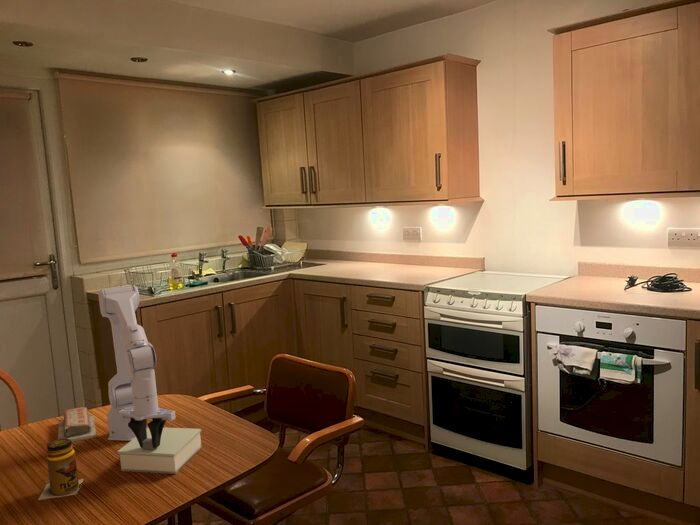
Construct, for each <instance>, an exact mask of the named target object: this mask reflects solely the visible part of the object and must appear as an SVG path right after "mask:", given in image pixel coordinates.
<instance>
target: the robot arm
mask: <svg viewBox="0 0 700 525" xmlns="http://www.w3.org/2000/svg"><path fill="white" fill-rule="evenodd" d="M98 303H99V310H100V314H101V317H103V318H107V319H108V320H109V323H110V326H111V333H112V339H113V340H112V341H113V348H114V357H115V358H114V359H115V364H116V372H117V373H116V374H114V376H113V377H112V378H111V379H110V380H109V381H108V383H107V386H108V387H107V388H108V391H107V392H108V400H109V403H110V404H109V405H110V408H109V410H108V413H107V427H108V435H109V437H108V438H107V440H109V441H124V442H125V441H127V442H128V441H129V442H130V441H131V440H133V439H134V438H135V437H136V438H137V440H138V442H139V445H140V447H141V448H143V445H142V441H144V440H145V439H146V438H147V431H146V429H147V428H149V430H150V433H151V437H152V445H153V448H157V447H158V446H159V445H160V440H161V434H162V430H163V427H165V425H166V422H167V421H168V422H173V421H174V420H175V419H176V410H169V409H166V408H162V407H159V403H158V402H159V401H158V391H157V382H156V374H155V368H156V367H157V355H156V351H155V348H154V346H153V344H151V342H149V341H148V338H147V335H146V333H145V332H146V331H145V328H144V327H143V326H142V325H139V324H138V321H137V317H136V311H137V309H138V308H139V305H140V293H139V288H138V287H137V286H136V285H135V284H131V285H127V286H118V287H112V288H101V289H99V291H98ZM148 420H151V421H150V422H148ZM147 422H148V423H147Z"/></svg>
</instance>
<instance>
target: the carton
mask: <svg viewBox="0 0 700 525" xmlns="http://www.w3.org/2000/svg"><path fill="white" fill-rule="evenodd" d="M201 449H202V440H201V432H200V433H199V434H198V435H197V436H196V437H195V438H193V439H192V440H191V441H190V442H189V443H188V444H187V445H186V446H185V447H184V448H183V449H182V450H181V451H180V452H179V453H178V454H176V455H175V456H156V455H136V454H119V460H120V468H121V471H122V472H130V471H131V472H132V473H133V472H134V473H135V472H136V473H148V472H150V473H149V474H152V473H153V474H165V475H166V474H168V475H169V474H170V475H177V473H178V472H180V470H182V469H183V468H184V467H185V466H186V464H188V462H189V461H191V459H192V458H193V457H195V456H196V454H197V453H198V452H200V450H201Z"/></svg>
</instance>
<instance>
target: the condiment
mask: <svg viewBox="0 0 700 525" xmlns="http://www.w3.org/2000/svg"><path fill="white" fill-rule="evenodd" d="M73 447H74V446H73V442H72V441H71V440H70V439H68V438H61V439H58V438H56V439H54V440H52V441H50V442H49V443H48V444H47V445H46V449H47V452H46V453H47V456H46V464H47V470H48V472H47V473H48V478H49V483H46V485H45V487H44V489H43V491H42V492H41V494H40V496H39V497H38V499H37V501H41V500H47V499H48V500H49V499H53V498H56V499H57V498H62V497H68V496H75V495H78V492H79V491H80V489H81V486H82V484H83V481H84V478H81V479H79V474H78V467H77V460H76V459H77V458H76V451H75V449H74V448H73ZM81 483H82V484H81ZM79 484H81V486H80V488H79Z"/></svg>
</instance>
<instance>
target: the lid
mask: <svg viewBox="0 0 700 525" xmlns="http://www.w3.org/2000/svg"><path fill="white" fill-rule="evenodd" d="M146 428H147V429H146V431H147V438H146V439H145V440H144V441H142V445H143V448H141V447H140V445H139V442H138V440H137V438H136V437H135V438H134V439H133V440H131V441H129V442H128V443H126V444H125V445H124V446H122V447H121V448H120V449H119V450H117V454H118V455H120V454H136V455H156V456H175V455H176V454H178V453H179V452H180V451H181V450H182V449H183V448H184V447H185V446H186V445H187V444H188V443H189V442H190V441H191V440H192V439H193V438H195V437H196V436H197V435H198V434H199V433H200V434H201V432H202V428H192V427H191V428H187V427H165V426H164V427H163V430H162V434H161V440H160V445H159V446H158V447H157V448H153V445H152V437H151V433H150V430H149V428H148V427H146Z"/></svg>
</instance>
